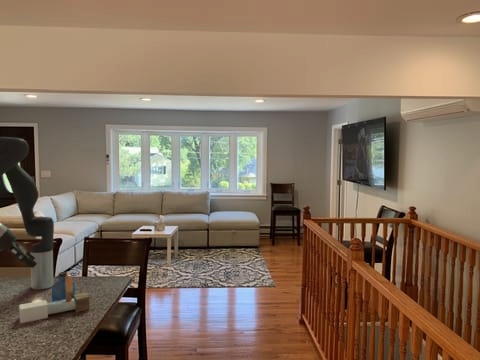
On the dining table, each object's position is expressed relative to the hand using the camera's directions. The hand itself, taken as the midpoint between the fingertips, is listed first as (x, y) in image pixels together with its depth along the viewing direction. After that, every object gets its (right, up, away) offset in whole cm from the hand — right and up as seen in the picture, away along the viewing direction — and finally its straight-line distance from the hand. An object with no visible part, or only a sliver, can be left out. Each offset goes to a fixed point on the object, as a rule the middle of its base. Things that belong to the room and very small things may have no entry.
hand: (34, 262), depth 138 cm
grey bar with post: (+8, -20, +5) cm, 22 cm away
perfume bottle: (+3, -20, +18) cm, 27 cm away
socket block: (+14, -21, +10) cm, 27 cm away
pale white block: (0, -21, 0) cm, 21 cm away
